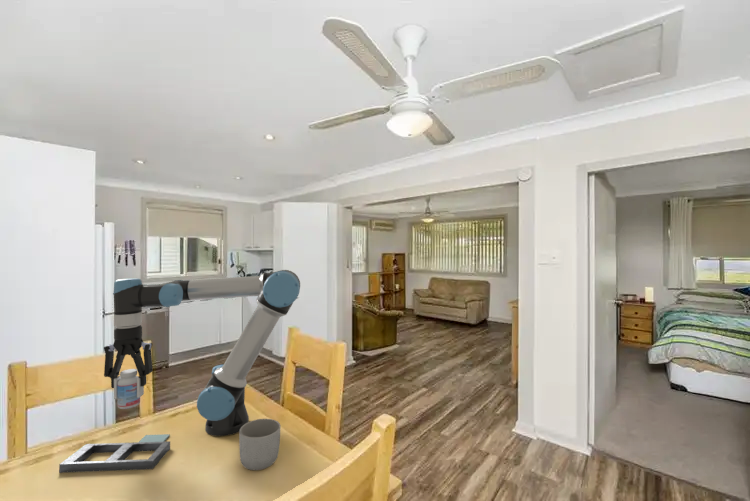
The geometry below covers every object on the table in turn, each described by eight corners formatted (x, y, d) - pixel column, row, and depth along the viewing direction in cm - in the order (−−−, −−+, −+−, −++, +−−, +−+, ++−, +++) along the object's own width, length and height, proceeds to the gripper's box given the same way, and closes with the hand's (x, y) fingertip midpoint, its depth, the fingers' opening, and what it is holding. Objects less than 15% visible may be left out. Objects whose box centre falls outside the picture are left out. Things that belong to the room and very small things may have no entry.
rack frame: (170, 448, 117) (170, 441, 117) (152, 469, 106) (153, 460, 106) (85, 451, 114) (86, 443, 114) (59, 472, 103) (59, 464, 103)
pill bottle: (129, 410, 111) (128, 374, 111) (112, 409, 112) (112, 373, 112) (144, 402, 117) (144, 368, 117) (129, 401, 118) (128, 367, 118)
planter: (237, 455, 114) (238, 422, 114) (276, 448, 118) (277, 415, 119) (239, 478, 102) (240, 441, 102) (282, 469, 107) (283, 433, 107)
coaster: (169, 435, 125) (169, 434, 125) (158, 448, 117) (158, 446, 117) (145, 436, 124) (145, 434, 124) (132, 449, 116) (132, 447, 116)
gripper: (164, 322, 119) (165, 390, 119) (103, 324, 117) (104, 394, 117) (154, 327, 112) (155, 399, 112) (88, 329, 109) (89, 403, 109)
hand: (129, 396), depth 114 cm, fingers closed on pill bottle, 6 cm apart
